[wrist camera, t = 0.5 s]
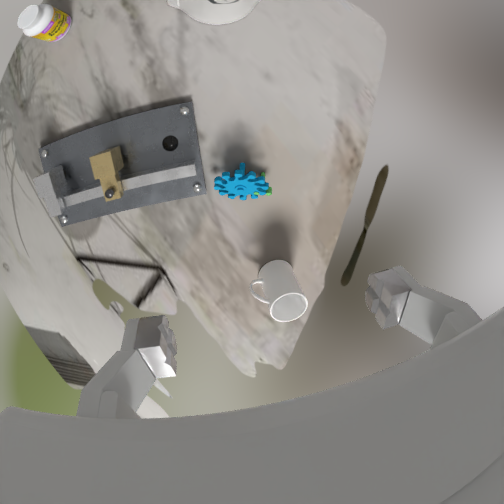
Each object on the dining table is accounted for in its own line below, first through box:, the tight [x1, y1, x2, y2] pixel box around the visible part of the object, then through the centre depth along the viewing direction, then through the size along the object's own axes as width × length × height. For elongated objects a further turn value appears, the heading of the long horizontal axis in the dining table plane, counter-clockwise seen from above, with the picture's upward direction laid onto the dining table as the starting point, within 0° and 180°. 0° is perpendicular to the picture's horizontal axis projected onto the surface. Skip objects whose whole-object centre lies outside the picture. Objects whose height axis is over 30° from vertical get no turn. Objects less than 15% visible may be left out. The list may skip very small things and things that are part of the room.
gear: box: [214, 163, 272, 200], centre depth 50 cm, size 11×6×10 cm
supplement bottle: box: [17, 4, 72, 42], centre depth 23 cm, size 7×7×13 cm
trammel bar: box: [33, 160, 197, 218], centre depth 43 cm, size 8×31×7 cm, turn 96°
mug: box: [249, 260, 308, 322], centre depth 60 cm, size 12×8×12 cm
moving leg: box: [90, 146, 124, 202], centre depth 42 cm, size 8×4×7 cm, turn 6°
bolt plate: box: [39, 102, 206, 227], centre depth 46 cm, size 18×33×2 cm, turn 96°
